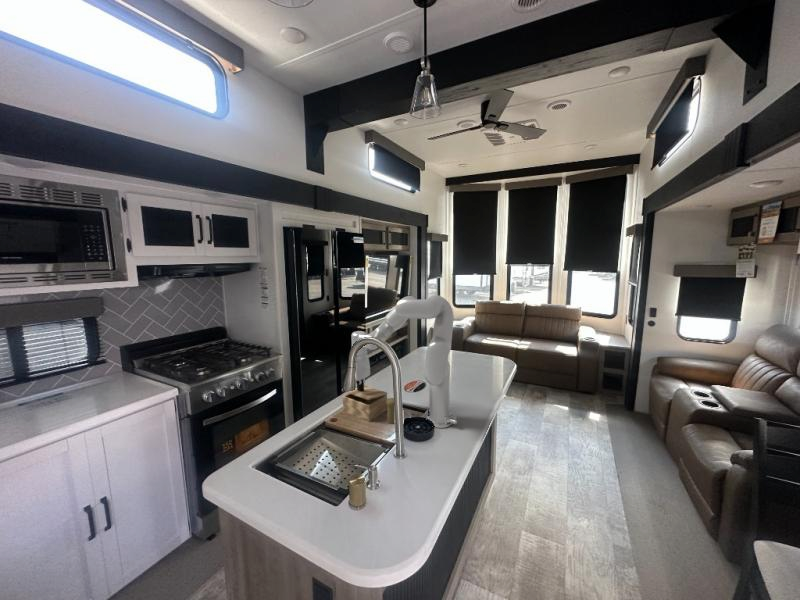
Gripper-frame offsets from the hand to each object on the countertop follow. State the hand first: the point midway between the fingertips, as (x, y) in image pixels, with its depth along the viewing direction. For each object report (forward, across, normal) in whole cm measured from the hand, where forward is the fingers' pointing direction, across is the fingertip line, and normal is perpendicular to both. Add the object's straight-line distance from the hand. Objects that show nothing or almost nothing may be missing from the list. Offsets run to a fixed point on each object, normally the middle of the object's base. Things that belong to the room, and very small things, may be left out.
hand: (360, 390), depth 157 cm
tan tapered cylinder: (+11, +2, -20) cm, 22 cm away
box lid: (+2, +2, -1) cm, 2 cm away
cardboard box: (+11, +2, -2) cm, 11 cm away
